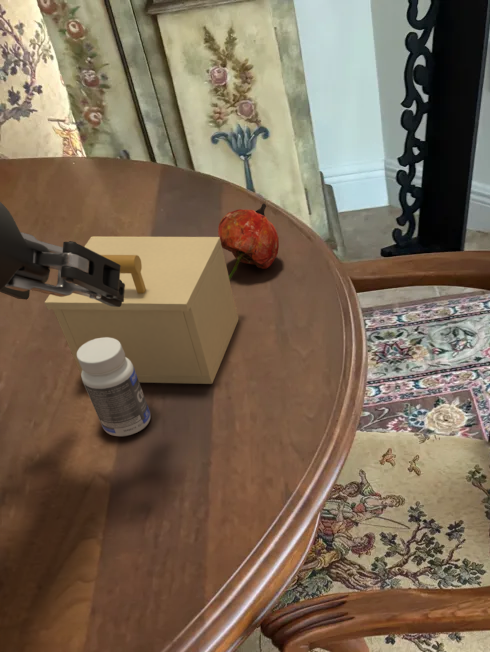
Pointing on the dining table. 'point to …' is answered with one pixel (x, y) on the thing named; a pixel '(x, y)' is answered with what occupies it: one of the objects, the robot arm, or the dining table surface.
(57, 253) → the robot arm
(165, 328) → the chest
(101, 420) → the pill bottle
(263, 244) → the pomegranate
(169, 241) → the chest lid
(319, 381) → the dining table surface
